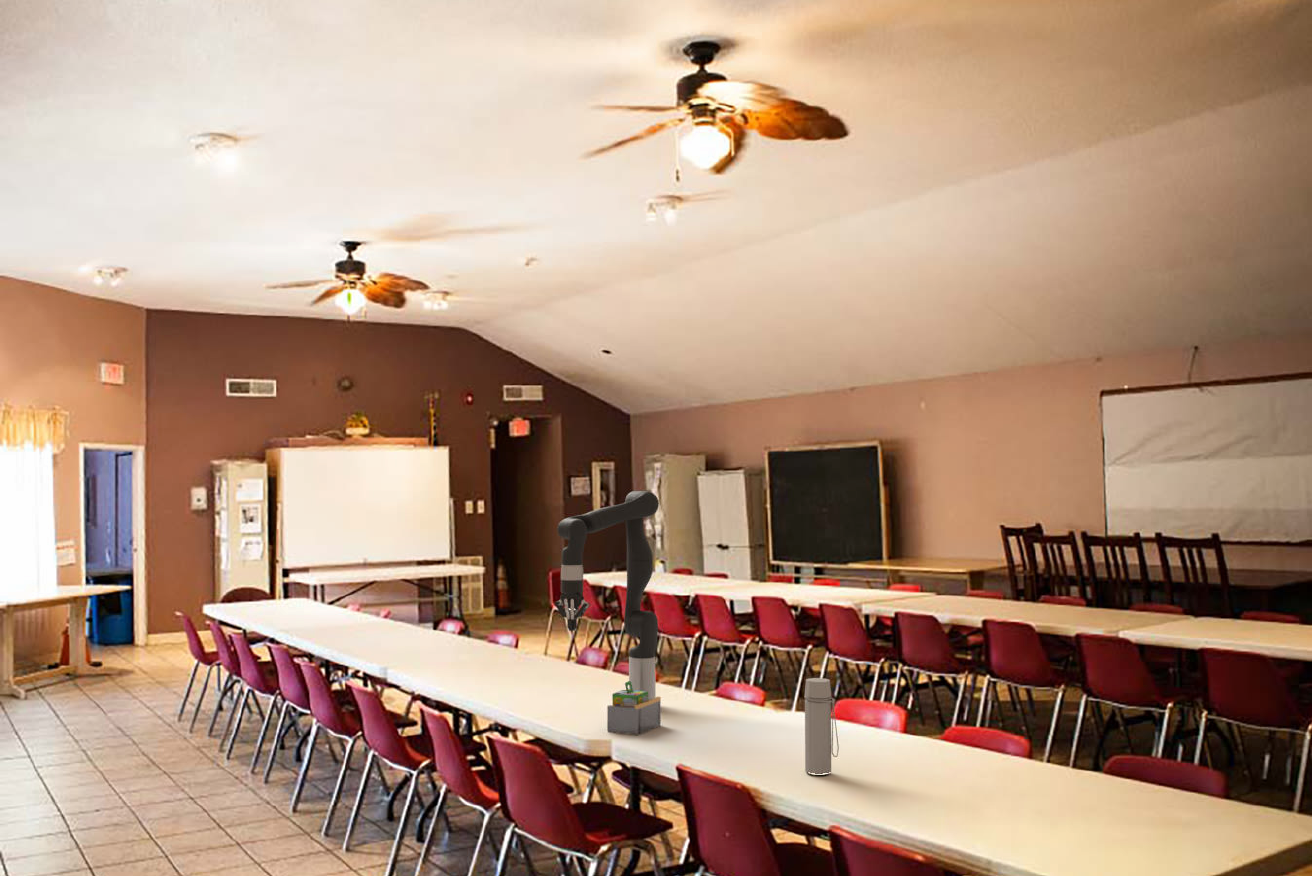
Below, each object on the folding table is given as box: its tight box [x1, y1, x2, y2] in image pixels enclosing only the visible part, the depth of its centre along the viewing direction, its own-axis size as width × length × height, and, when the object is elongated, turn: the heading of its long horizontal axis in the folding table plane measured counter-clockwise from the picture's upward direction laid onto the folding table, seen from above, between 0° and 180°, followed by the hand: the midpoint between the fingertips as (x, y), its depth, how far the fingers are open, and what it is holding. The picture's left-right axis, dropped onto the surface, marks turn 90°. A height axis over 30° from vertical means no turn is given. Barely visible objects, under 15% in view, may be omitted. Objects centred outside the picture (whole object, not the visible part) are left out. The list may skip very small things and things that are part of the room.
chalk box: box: [611, 680, 648, 708], centre depth 365 cm, size 9×9×15 cm
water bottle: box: [803, 677, 840, 774], centre depth 308 cm, size 9×8×25 cm
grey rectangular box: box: [606, 696, 662, 736], centre depth 365 cm, size 16×11×9 cm
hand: (571, 630), depth 383 cm, fingers closed
